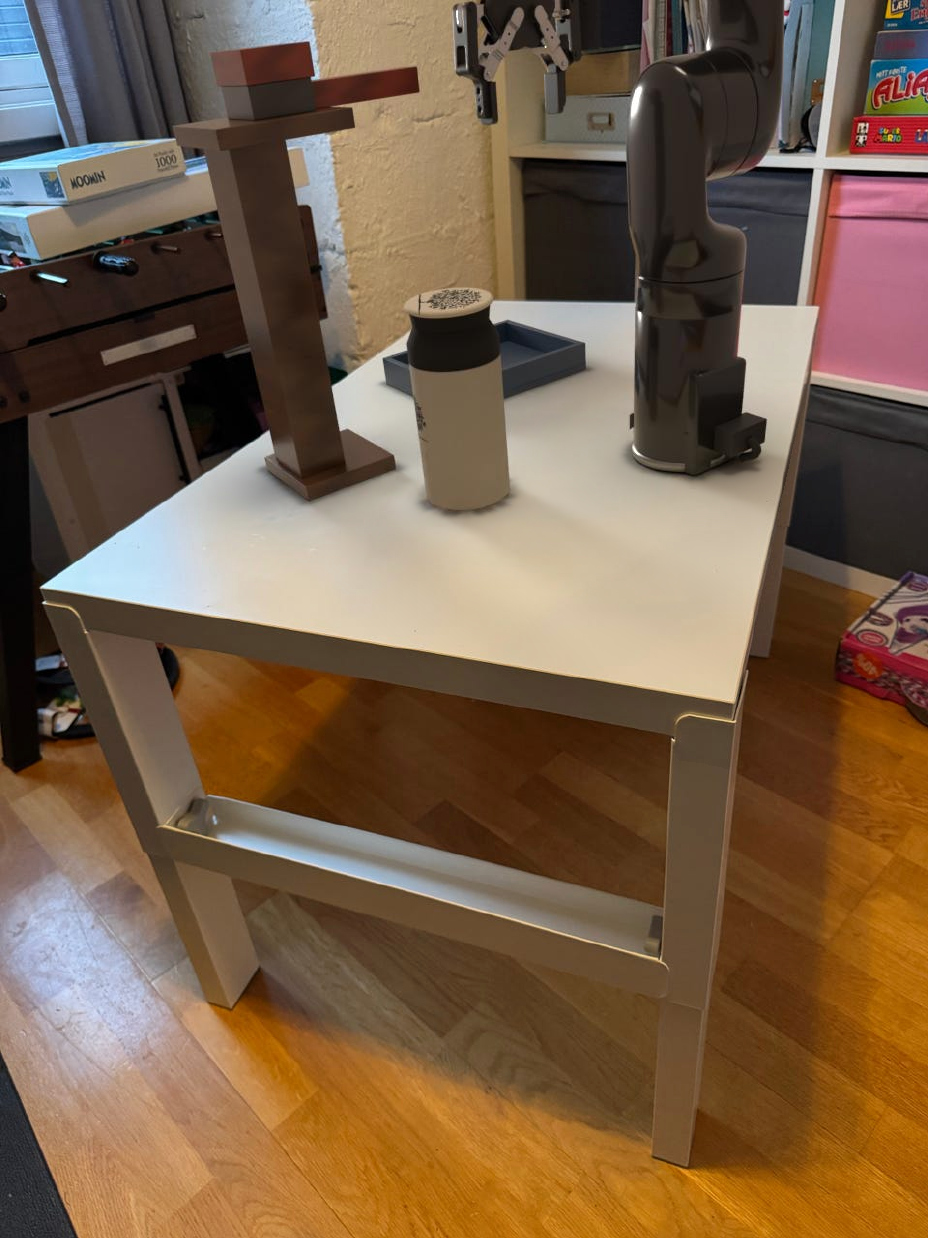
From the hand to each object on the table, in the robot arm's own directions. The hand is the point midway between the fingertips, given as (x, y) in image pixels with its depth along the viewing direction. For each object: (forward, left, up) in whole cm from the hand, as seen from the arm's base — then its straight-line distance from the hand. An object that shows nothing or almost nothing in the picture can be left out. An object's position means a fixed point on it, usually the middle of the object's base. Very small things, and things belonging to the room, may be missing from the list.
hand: (522, 118), depth 92 cm
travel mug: (-20, +24, -28) cm, 42 cm away
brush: (-5, +24, +4) cm, 25 cm away
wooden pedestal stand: (-5, +31, -28) cm, 42 cm away
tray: (+5, +4, -28) cm, 29 cm away
